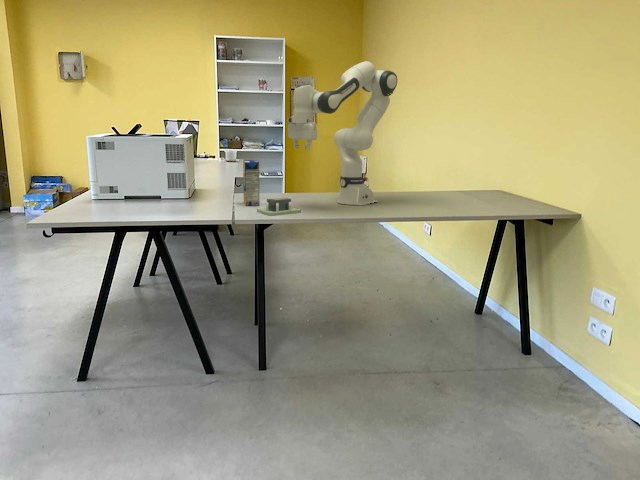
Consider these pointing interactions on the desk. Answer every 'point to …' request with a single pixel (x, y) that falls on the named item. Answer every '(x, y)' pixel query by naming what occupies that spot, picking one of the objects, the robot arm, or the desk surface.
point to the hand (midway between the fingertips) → (302, 148)
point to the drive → (282, 203)
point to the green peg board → (277, 212)
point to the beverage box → (251, 182)
